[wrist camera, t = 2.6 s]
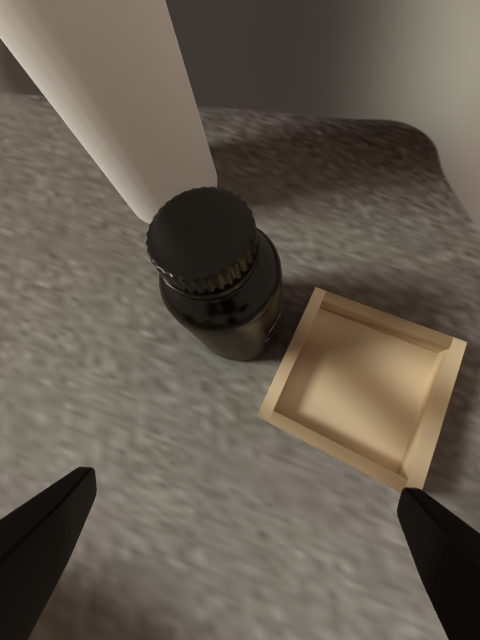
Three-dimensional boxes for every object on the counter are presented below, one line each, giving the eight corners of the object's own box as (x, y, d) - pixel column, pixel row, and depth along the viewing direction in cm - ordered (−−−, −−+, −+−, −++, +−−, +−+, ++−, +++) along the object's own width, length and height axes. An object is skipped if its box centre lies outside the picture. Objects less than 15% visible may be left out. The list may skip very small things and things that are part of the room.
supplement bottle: (296, 345, 21) (306, 272, 10) (213, 373, 22) (134, 333, 11) (267, 271, 24) (249, 146, 13) (193, 298, 24) (110, 199, 13)
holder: (403, 491, 18) (418, 502, 15) (259, 415, 20) (256, 416, 18) (448, 349, 20) (467, 342, 18) (313, 298, 22) (315, 287, 20)
